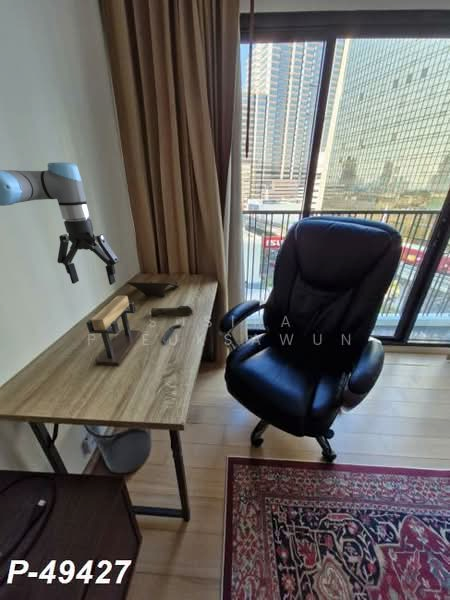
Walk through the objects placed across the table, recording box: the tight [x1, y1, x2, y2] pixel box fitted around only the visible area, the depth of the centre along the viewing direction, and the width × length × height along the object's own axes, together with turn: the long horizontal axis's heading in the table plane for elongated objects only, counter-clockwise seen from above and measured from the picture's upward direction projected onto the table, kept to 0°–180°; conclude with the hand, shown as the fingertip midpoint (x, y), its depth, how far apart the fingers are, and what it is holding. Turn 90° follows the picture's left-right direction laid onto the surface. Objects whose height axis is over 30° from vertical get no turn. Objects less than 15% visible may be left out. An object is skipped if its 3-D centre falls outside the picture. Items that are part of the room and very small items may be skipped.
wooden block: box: [90, 295, 130, 331], centre depth 90 cm, size 4×18×5 cm, turn 175°
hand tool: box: [150, 305, 193, 317], centre depth 117 cm, size 19×4×5 cm, turn 89°
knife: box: [162, 323, 182, 345], centre depth 104 cm, size 14×4×1 cm, turn 169°
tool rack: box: [85, 300, 142, 367], centre depth 93 cm, size 10×20×16 cm, turn 175°
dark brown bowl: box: [126, 281, 180, 298], centre depth 138 cm, size 23×23×9 cm
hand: (94, 282), depth 87 cm, fingers open, 13 cm apart
